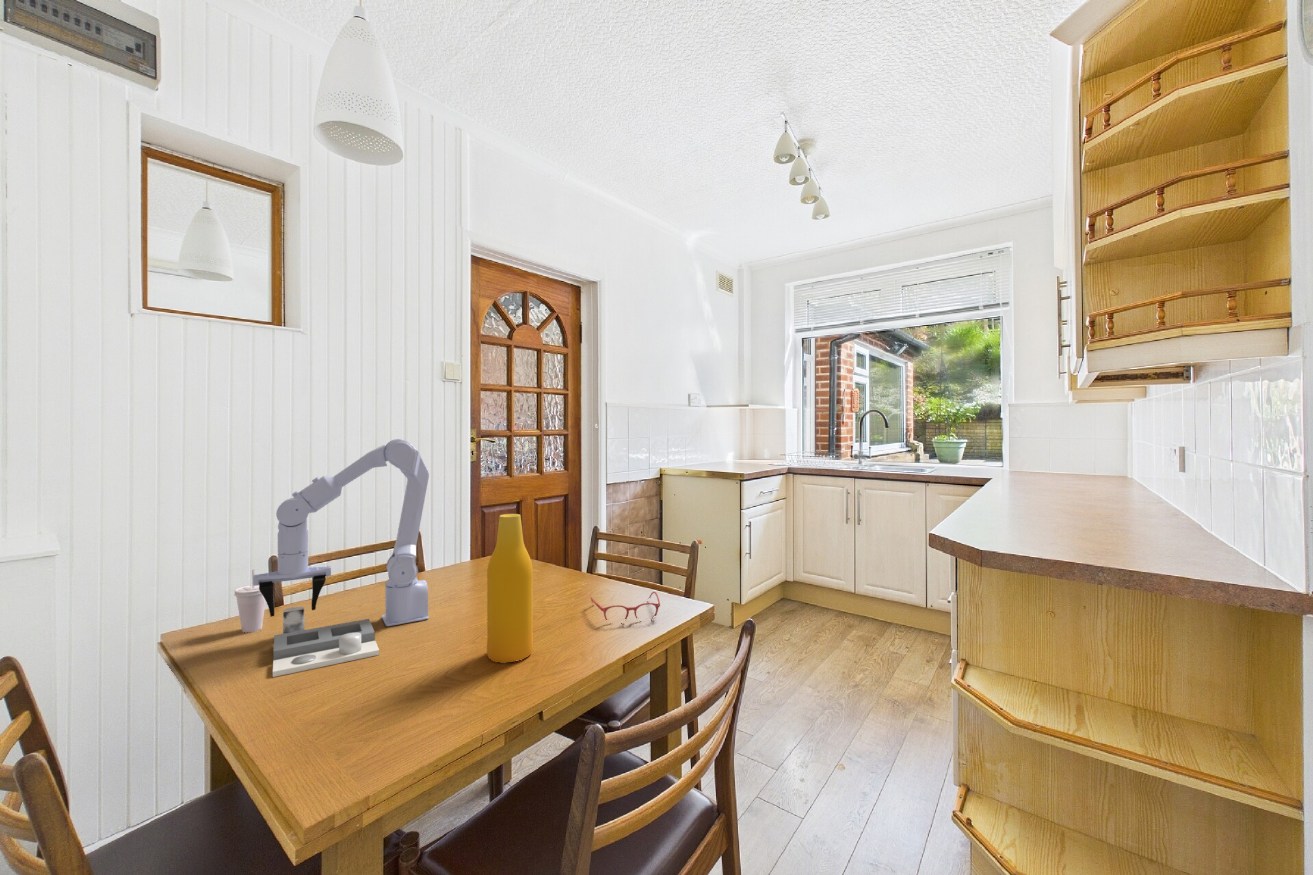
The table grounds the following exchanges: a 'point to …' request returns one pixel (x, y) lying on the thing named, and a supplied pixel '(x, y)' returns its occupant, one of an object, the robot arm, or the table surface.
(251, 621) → the smoothie
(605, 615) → the red eyeglasses
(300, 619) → the pin
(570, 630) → the table surface
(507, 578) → the beer bottle
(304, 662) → the white peg base plate
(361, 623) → the grey square hole plate
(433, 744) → the table surface
